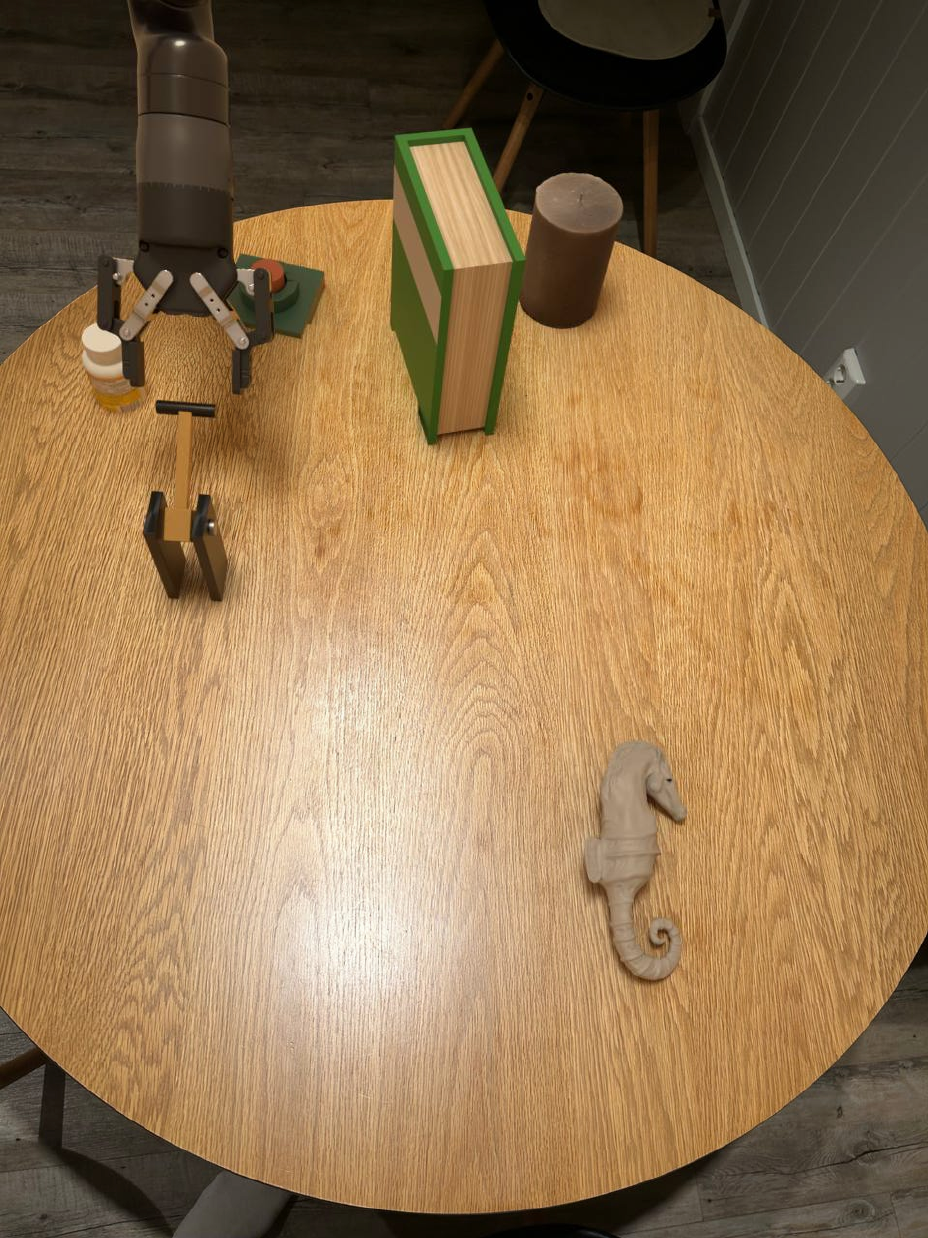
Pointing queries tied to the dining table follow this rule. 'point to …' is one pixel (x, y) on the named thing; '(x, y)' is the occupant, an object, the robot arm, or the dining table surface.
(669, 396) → the dining table surface
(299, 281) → the button box
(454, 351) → the hardback book
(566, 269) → the pillar candle
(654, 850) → the seahorse
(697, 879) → the dining table surface
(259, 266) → the button
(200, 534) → the bracket
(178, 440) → the latch
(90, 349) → the supplement bottle
